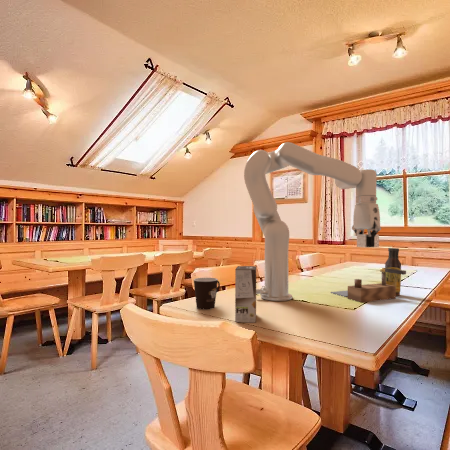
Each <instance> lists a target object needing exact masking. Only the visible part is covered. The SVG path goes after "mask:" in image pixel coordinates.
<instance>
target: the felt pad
mask: <svg viewBox="0 0 450 450" xmlns="http://www.w3.org/2000/svg"><path fill="white" fill-rule="evenodd" d="M332 293H333V295H336V294H337V296H340V295H341V296H340V297H343V296H344V298H348V289H347V290H338V291H330V294H332Z"/></svg>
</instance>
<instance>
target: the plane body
mask: <svg viewBox="0 0 450 450" xmlns="http://www.w3.org/2000/svg"><path fill="white" fill-rule="evenodd" d="M362 283H363V282H362V279H359V278H356V279H354V285H347V290H348V297H347V299H348V300H351V299H352V301H354V300H355V302H358V301H359V302H358V303H368V302H376V301H385V300H393V299H396V297H397V296H396V286H393V285H388V284H386V272H381V283H370V284H369V283H368V284H362Z"/></svg>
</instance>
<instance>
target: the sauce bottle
mask: <svg viewBox="0 0 450 450" xmlns="http://www.w3.org/2000/svg"><path fill="white" fill-rule="evenodd" d="M399 253H400V248H397V247H388V258H387V260H386V261H385V263H384V265H385V266H384V268H388V269H396V270H402V263H401V261H400V259H399ZM401 282H402V274H395V273H388V272H386V284H388V285H393V286H396V297H398V296H400V294H401V284H402V283H401Z"/></svg>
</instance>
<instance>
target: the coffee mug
mask: <svg viewBox="0 0 450 450" xmlns="http://www.w3.org/2000/svg"><path fill="white" fill-rule="evenodd" d="M193 285H194V286H193V287H194V294H195V303H196V309H198V310H204V311H207V310H213V309H215V307H216V299H217V298H216V297H217V293H218V292H219V289H220V288H221V283H220V281H219V279H218V278H216V277H197V278H194V279H193Z"/></svg>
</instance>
